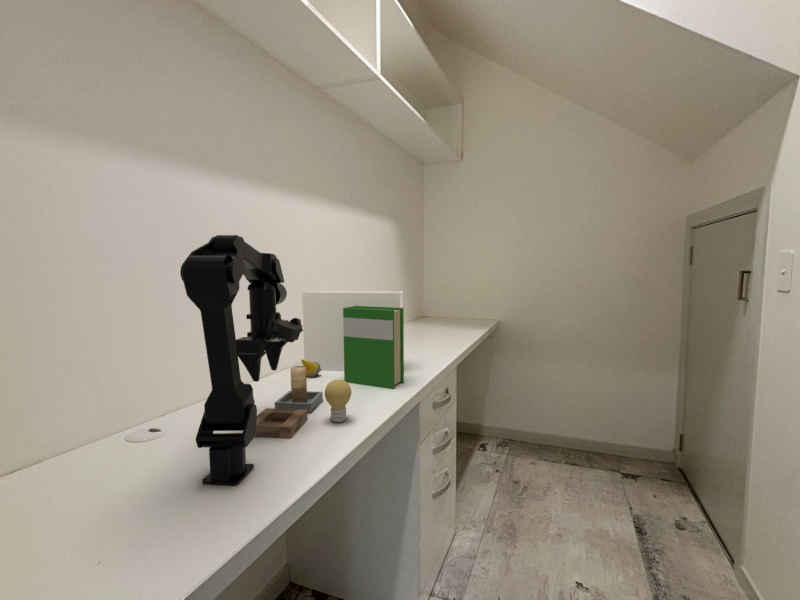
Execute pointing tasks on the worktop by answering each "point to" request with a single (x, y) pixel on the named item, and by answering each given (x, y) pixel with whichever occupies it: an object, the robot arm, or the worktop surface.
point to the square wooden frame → (279, 422)
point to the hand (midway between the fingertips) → (265, 375)
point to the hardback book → (373, 346)
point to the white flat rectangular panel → (335, 322)
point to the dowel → (298, 384)
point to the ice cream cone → (311, 368)
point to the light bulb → (338, 398)
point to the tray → (310, 406)
